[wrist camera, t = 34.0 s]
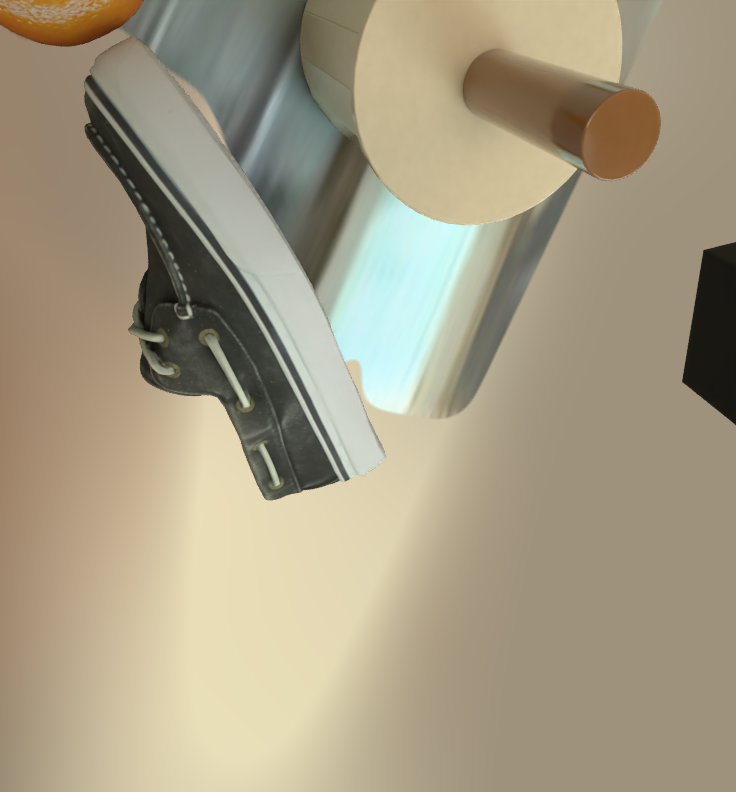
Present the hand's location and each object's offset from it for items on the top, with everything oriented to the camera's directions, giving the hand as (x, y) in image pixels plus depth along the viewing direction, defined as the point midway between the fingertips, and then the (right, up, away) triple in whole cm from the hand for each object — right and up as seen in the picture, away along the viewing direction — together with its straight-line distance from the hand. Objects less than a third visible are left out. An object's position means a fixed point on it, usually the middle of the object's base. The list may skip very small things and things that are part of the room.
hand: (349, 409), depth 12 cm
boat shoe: (-3, +6, +27) cm, 28 cm away
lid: (+5, +13, +17) cm, 22 cm away
